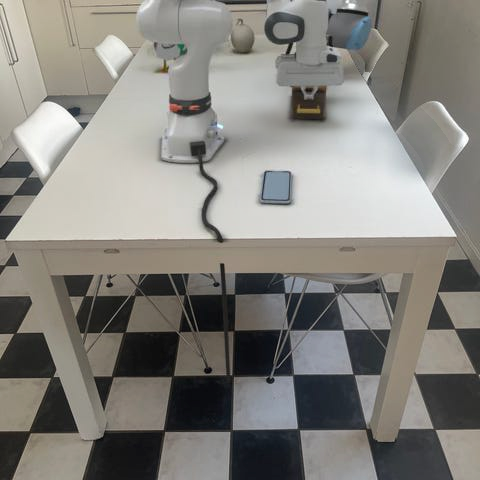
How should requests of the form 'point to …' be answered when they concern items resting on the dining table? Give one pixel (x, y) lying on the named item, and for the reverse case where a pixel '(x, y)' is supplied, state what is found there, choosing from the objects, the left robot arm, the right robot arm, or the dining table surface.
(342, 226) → the dining table surface
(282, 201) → the smartphone
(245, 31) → the fruit
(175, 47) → the toy
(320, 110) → the drawer
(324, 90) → the open wooden box
